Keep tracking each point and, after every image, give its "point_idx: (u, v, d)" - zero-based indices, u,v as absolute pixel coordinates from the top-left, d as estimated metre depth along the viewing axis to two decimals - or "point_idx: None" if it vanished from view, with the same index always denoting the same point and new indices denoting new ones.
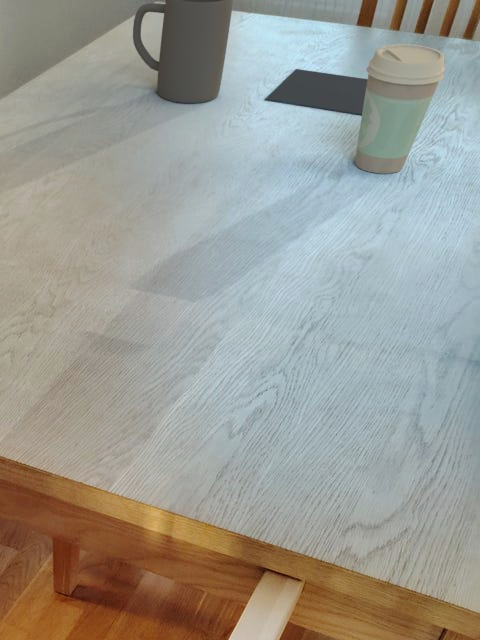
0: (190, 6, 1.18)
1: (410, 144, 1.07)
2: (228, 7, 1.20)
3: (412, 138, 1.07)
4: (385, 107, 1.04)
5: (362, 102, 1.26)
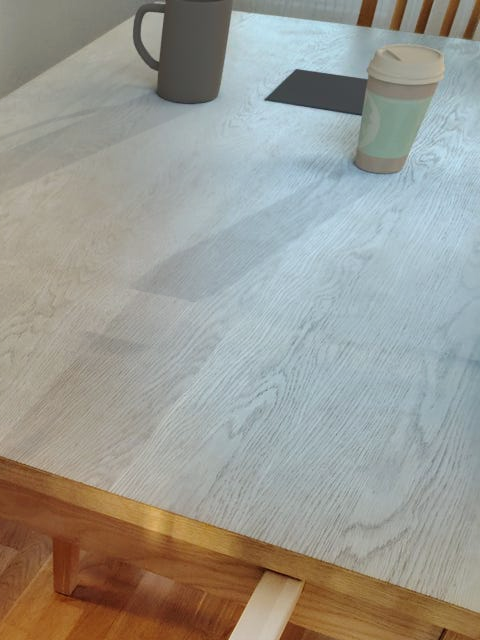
0: (190, 6, 1.18)
1: (410, 144, 1.07)
2: (228, 7, 1.20)
3: (412, 138, 1.07)
4: (385, 107, 1.04)
5: (362, 102, 1.26)
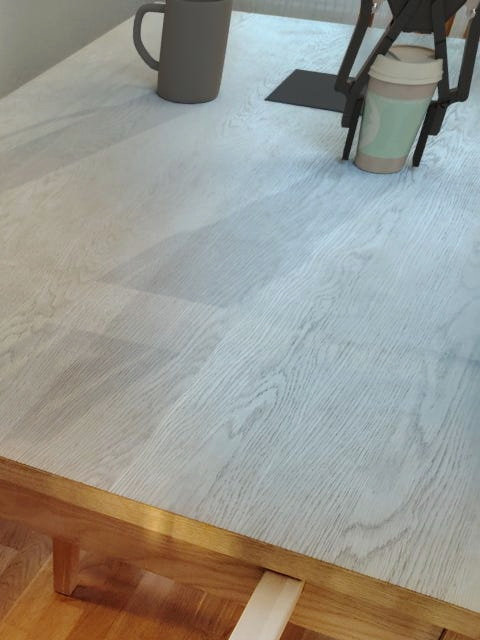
0: (190, 6, 1.18)
1: (410, 144, 1.07)
2: (228, 7, 1.20)
3: (412, 138, 1.07)
4: (385, 107, 1.04)
5: None
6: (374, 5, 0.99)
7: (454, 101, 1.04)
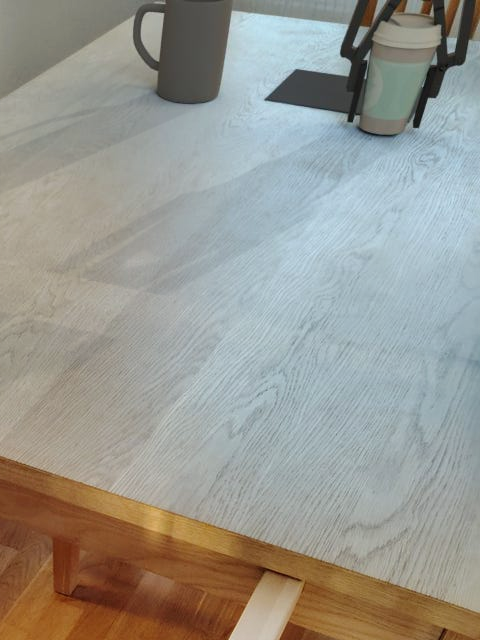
0: (190, 6, 1.18)
1: (411, 106, 1.15)
2: (228, 7, 1.20)
3: (413, 100, 1.14)
4: (388, 71, 1.11)
5: None
6: None
7: (452, 65, 1.11)
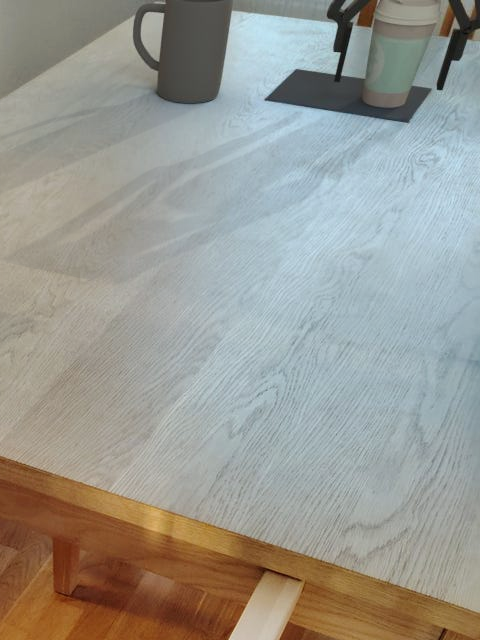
0: (190, 6, 1.18)
1: (411, 81, 1.22)
2: (228, 7, 1.20)
3: (412, 75, 1.21)
4: (389, 47, 1.19)
5: (362, 102, 1.26)
6: None
7: (475, 28, 1.17)
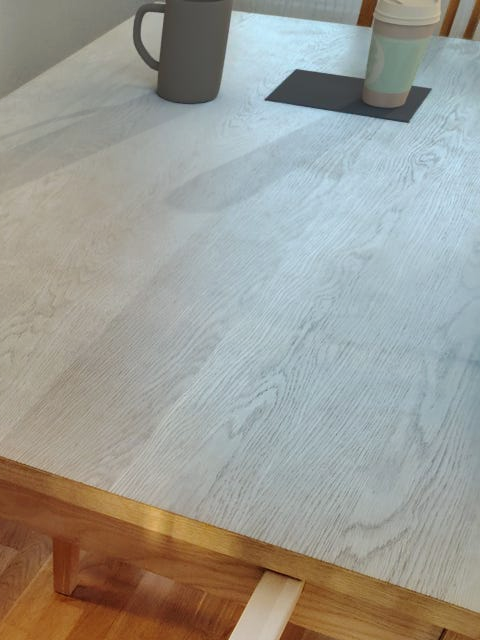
0: (190, 6, 1.18)
1: (411, 81, 1.22)
2: (228, 7, 1.20)
3: (412, 75, 1.21)
4: (389, 47, 1.19)
5: (362, 102, 1.26)
6: None
7: None
